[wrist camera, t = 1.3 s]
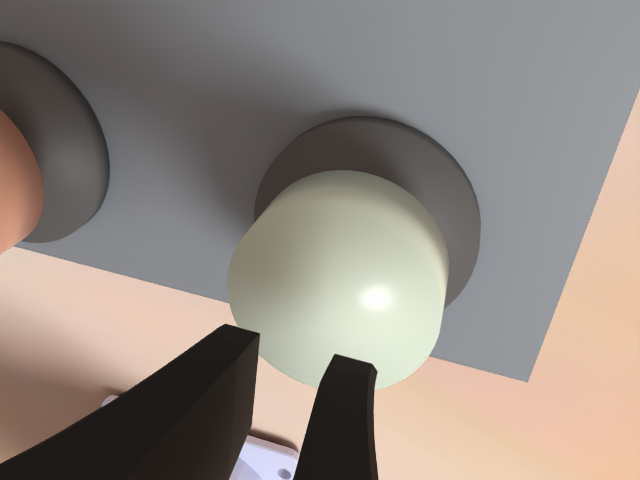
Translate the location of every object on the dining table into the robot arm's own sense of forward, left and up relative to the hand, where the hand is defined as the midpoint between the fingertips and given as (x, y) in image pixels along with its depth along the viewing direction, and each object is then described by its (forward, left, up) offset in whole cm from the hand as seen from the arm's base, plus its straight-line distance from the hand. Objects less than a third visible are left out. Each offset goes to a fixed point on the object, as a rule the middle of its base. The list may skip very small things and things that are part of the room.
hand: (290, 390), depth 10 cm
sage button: (0, 0, -4) cm, 4 cm away
